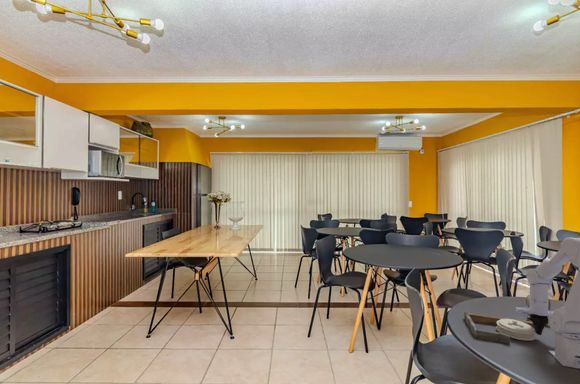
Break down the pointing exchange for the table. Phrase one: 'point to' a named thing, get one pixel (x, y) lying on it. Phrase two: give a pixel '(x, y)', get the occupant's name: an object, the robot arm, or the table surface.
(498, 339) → the u-shaped bar frame
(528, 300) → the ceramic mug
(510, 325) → the lid
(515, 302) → the table surface
